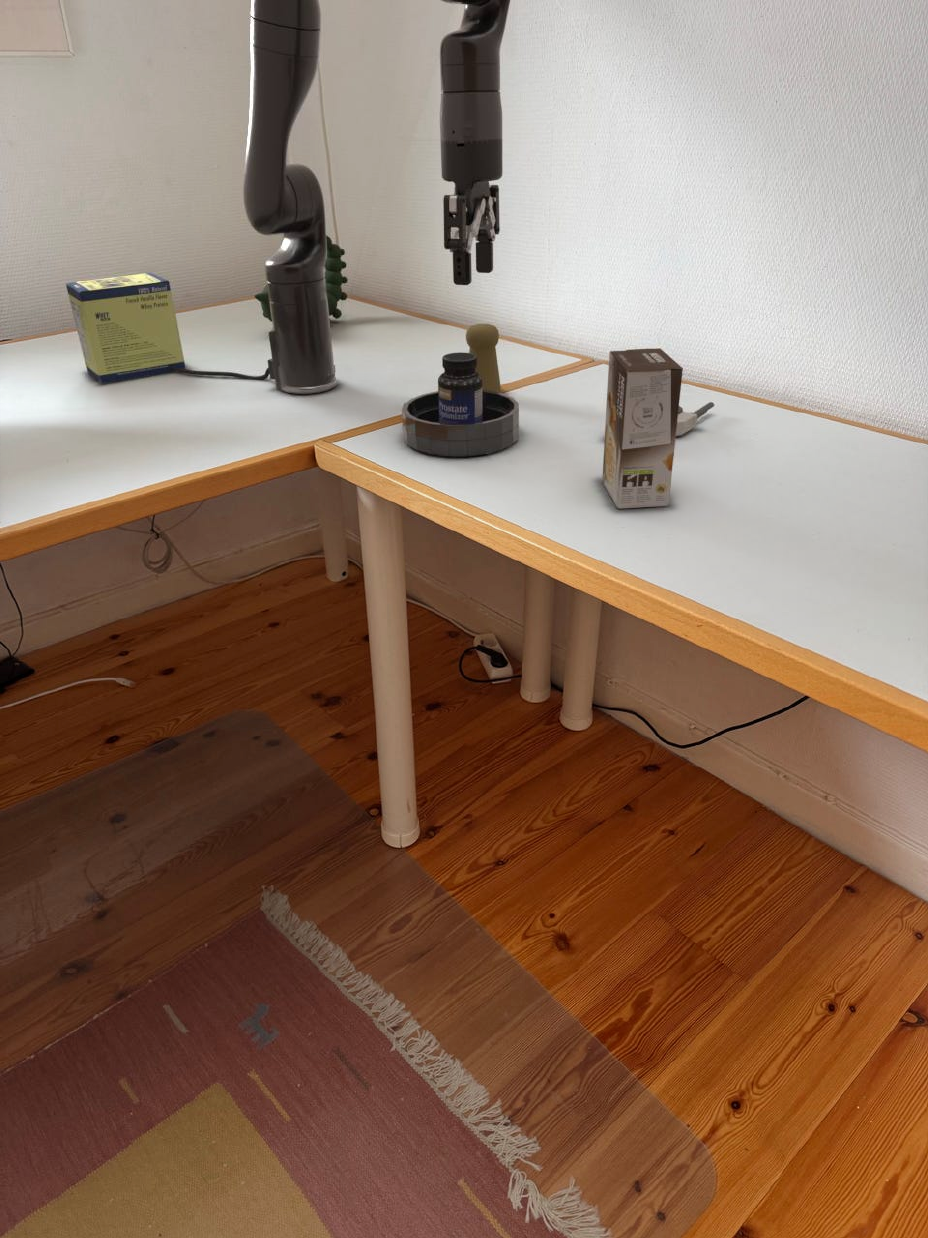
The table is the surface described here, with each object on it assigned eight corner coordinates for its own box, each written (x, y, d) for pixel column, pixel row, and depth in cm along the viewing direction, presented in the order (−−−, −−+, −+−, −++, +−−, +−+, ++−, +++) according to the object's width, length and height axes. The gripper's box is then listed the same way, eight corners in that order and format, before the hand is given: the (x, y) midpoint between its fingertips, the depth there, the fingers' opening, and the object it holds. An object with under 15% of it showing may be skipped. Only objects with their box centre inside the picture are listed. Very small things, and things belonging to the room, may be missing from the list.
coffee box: (670, 506, 99) (685, 367, 91) (616, 510, 99) (626, 371, 90) (649, 477, 107) (661, 346, 99) (599, 479, 107) (607, 349, 98)
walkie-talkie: (657, 455, 113) (717, 414, 127) (660, 423, 111) (721, 385, 124) (599, 443, 118) (663, 404, 131) (600, 411, 116) (666, 376, 129)
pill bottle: (433, 440, 119) (429, 360, 114) (448, 426, 124) (446, 349, 118) (474, 444, 118) (473, 363, 112) (488, 430, 122) (488, 352, 117)
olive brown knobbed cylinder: (498, 401, 135) (498, 329, 129) (461, 399, 136) (459, 328, 130) (504, 389, 140) (504, 320, 134) (468, 388, 141) (466, 319, 135)
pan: (385, 451, 117) (382, 418, 115) (431, 415, 130) (429, 385, 128) (496, 464, 112) (496, 430, 110) (533, 425, 125) (533, 394, 122)
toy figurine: (326, 323, 192) (242, 337, 173) (322, 231, 183) (233, 235, 165) (358, 328, 187) (275, 342, 169) (355, 234, 179) (267, 238, 160)
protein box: (187, 369, 156) (170, 279, 148) (100, 385, 149) (77, 291, 141) (169, 357, 163) (152, 271, 155) (85, 372, 156) (62, 282, 148)
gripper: (462, 133, 110) (465, 267, 118) (419, 139, 98) (426, 287, 107) (518, 132, 107) (517, 269, 116) (481, 138, 96) (483, 290, 105)
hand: (473, 278), depth 111 cm, fingers open, 8 cm apart
